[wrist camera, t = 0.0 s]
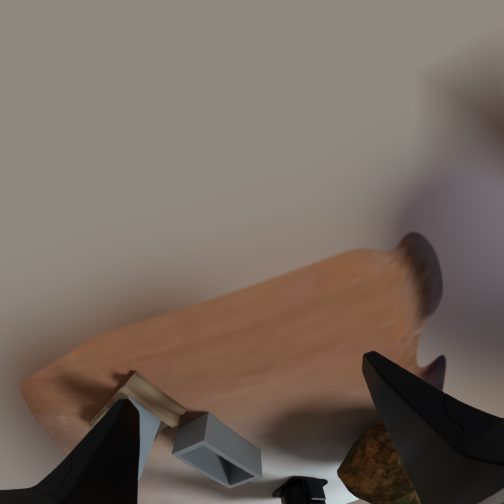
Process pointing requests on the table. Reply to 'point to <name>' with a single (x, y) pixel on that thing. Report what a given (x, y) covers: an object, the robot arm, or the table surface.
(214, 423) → the holder
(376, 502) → the rock
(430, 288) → the table surface
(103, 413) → the rack
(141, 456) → the panel
